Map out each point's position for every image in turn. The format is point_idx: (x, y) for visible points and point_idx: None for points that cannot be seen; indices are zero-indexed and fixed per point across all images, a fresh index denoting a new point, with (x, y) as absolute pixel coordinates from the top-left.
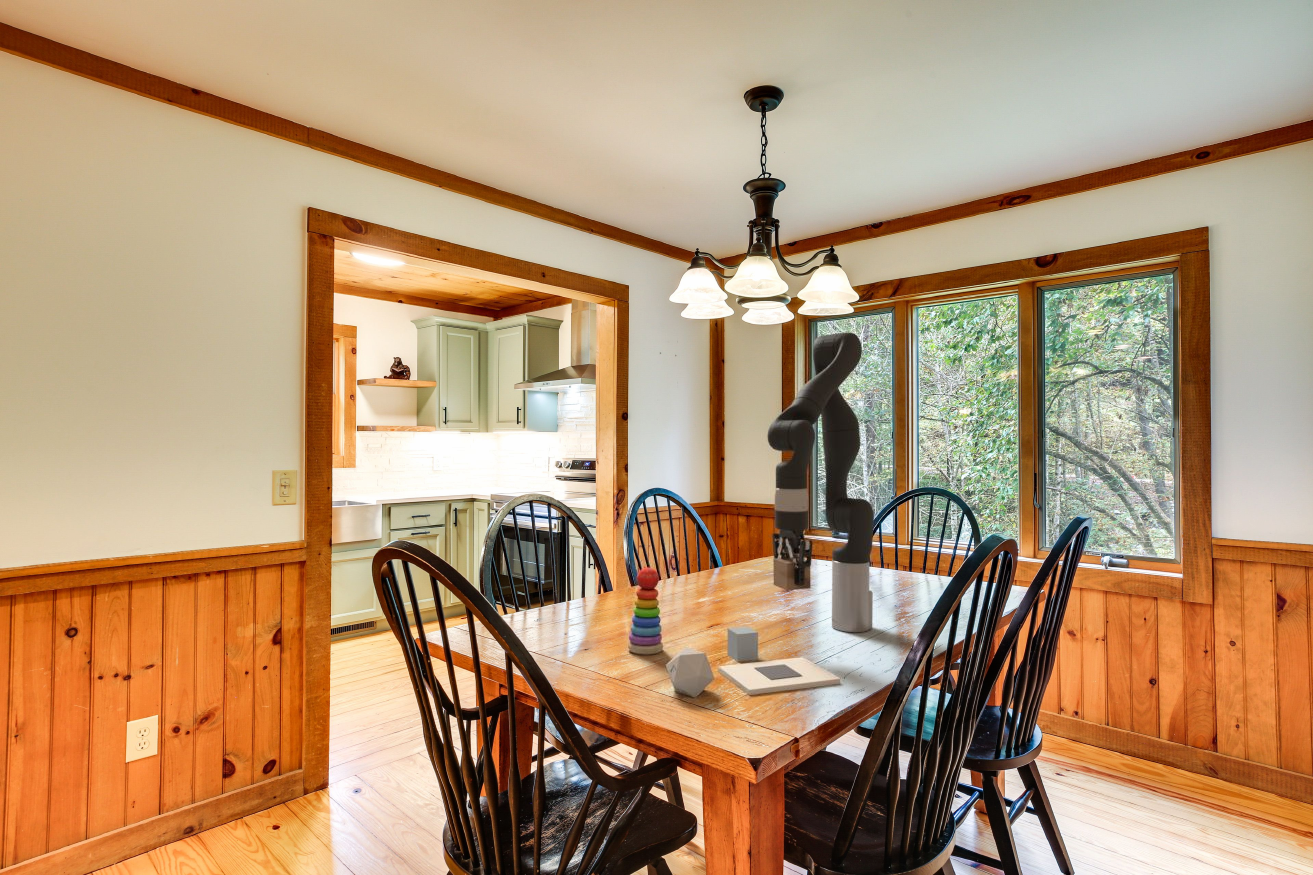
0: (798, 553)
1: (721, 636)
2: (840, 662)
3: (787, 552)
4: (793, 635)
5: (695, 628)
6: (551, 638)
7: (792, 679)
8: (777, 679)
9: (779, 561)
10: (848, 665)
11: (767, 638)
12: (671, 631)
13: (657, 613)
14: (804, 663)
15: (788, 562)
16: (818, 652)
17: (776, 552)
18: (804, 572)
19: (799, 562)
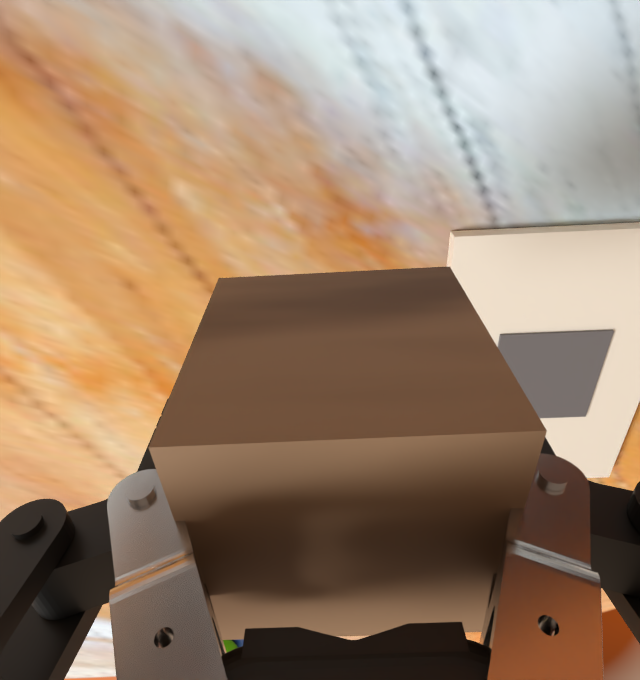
0: (461, 626)
1: (103, 370)
2: (523, 76)
3: (216, 631)
4: (90, 79)
5: (2, 411)
6: (113, 655)
7: (616, 365)
8: (591, 399)
9: (340, 628)
10: (572, 62)
11: (136, 226)
12: (45, 475)
13: (229, 646)
14: (516, 264)
15: (456, 610)
16: (368, 100)
17: (76, 648)
18: (547, 441)
19: (633, 605)
